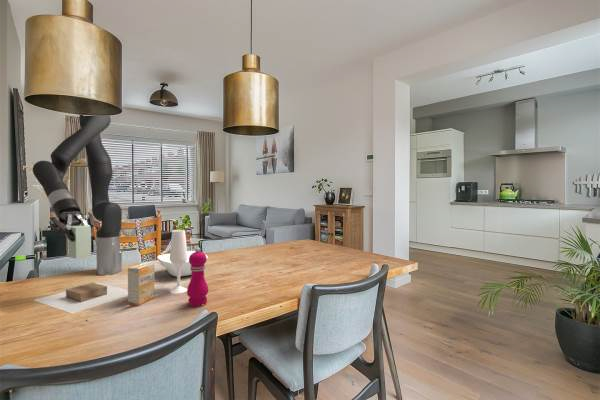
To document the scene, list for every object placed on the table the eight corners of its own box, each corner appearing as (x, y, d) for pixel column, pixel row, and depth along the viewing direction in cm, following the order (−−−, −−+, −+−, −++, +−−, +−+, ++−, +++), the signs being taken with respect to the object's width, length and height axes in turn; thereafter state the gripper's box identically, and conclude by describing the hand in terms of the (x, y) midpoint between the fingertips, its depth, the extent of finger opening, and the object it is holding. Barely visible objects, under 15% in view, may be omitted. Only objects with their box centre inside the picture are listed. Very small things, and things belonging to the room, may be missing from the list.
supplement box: (139, 306, 106) (139, 268, 105) (127, 304, 107) (127, 267, 106) (155, 297, 114) (155, 262, 113) (143, 296, 115) (143, 261, 114)
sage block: (83, 254, 115) (83, 225, 114) (91, 255, 113) (90, 226, 112) (68, 257, 110) (67, 226, 110) (76, 258, 108) (75, 227, 108)
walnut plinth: (92, 290, 118) (92, 282, 117) (107, 294, 114) (106, 286, 113) (66, 297, 109) (65, 289, 109) (80, 302, 106) (80, 293, 105)
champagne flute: (167, 293, 118) (167, 232, 117) (172, 288, 124) (171, 229, 123) (185, 293, 119) (185, 231, 118) (189, 287, 125) (189, 229, 124)
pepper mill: (197, 308, 104) (197, 250, 103) (182, 304, 108) (182, 248, 107) (212, 301, 111) (212, 247, 110) (198, 298, 114) (198, 244, 113)
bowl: (152, 273, 145) (152, 255, 144) (194, 266, 159) (194, 249, 158) (167, 284, 129) (167, 264, 129) (213, 275, 143) (213, 257, 143)
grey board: (98, 285, 127) (98, 282, 127) (136, 294, 116) (136, 292, 116) (33, 302, 107) (33, 300, 107) (72, 316, 96) (72, 313, 96)
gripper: (44, 197, 108) (63, 235, 103) (88, 196, 120) (107, 229, 115) (37, 212, 110) (55, 248, 105) (81, 209, 123) (99, 242, 118)
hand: (82, 238), depth 110 cm, fingers closed on sage block, 5 cm apart
